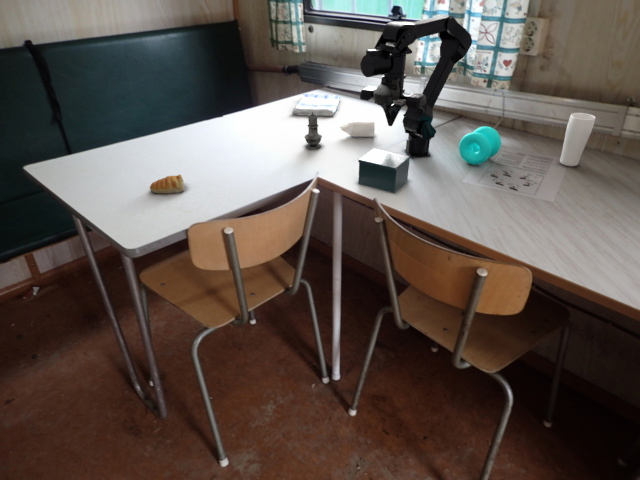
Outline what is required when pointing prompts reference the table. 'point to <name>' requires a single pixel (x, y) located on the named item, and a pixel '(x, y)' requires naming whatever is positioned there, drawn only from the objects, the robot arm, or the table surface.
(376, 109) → the table surface
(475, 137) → the donuts
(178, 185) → the pastry
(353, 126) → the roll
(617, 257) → the table surface
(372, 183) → the open-top green box
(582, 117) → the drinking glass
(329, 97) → the dish towel
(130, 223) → the table surface
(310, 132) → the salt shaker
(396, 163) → the green box lid
